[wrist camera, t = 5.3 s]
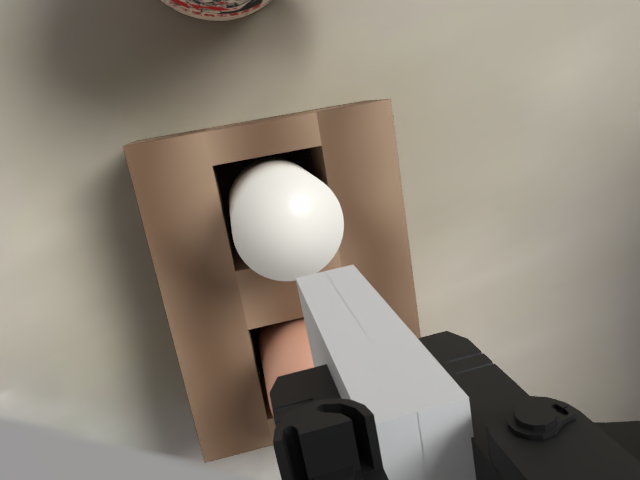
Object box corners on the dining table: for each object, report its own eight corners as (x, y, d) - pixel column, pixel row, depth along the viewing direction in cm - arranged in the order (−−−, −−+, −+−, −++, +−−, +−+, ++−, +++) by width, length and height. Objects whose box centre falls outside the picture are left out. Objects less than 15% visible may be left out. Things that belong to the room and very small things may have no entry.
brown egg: (330, 294, 29) (358, 338, 24) (342, 365, 31) (371, 424, 25) (251, 311, 29) (259, 361, 23) (266, 383, 30) (278, 448, 24)
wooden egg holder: (364, 100, 29) (390, 98, 25) (401, 366, 33) (429, 404, 29) (137, 140, 27) (122, 146, 23) (206, 414, 31) (204, 462, 27)
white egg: (309, 150, 26) (334, 161, 21) (323, 235, 28) (351, 268, 22) (220, 166, 26) (220, 182, 20) (238, 253, 27) (244, 292, 21)
